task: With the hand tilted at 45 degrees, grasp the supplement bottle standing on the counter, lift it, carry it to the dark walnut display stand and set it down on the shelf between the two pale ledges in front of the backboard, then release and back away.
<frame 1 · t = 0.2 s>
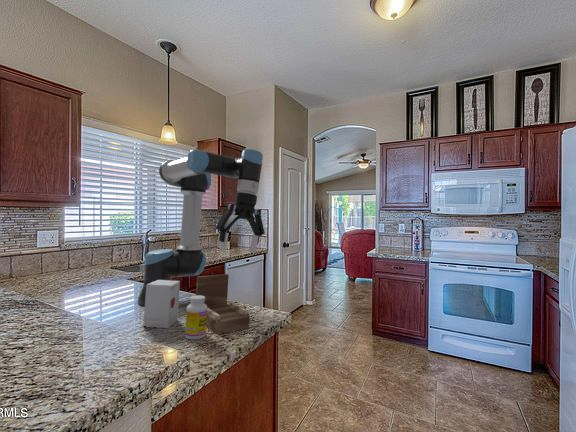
hand: (238, 252, 103), 28 cm above the counter, tool pointing down, fingers open, 13 cm apart
supplement box: (161, 324, 105), on the counter
display stand: (221, 322, 109), on the counter
supplement bottle: (195, 336, 96), on the counter
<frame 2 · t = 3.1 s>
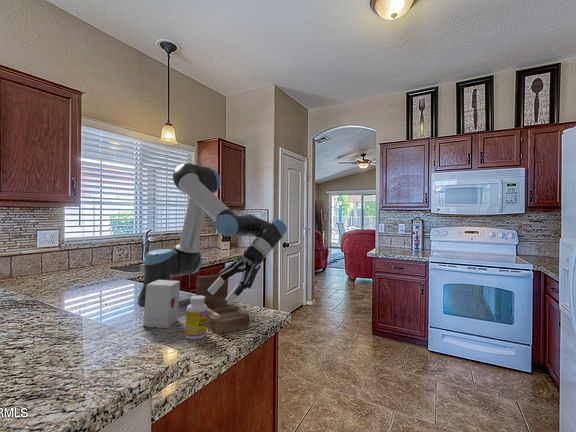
hand: (218, 297, 100), 12 cm above the counter, tool tilted 45°, fingers open, 13 cm apart
nothing on the counter moved.
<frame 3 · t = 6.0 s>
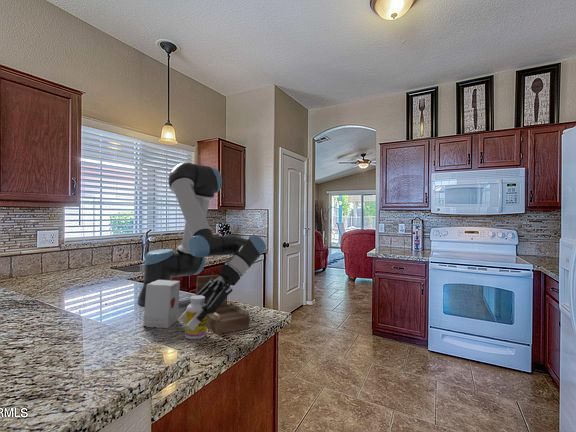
hand: (185, 324, 94), 4 cm above the counter, tool tilted 45°, fingers closed on supplement bottle, 7 cm apart
supplement bottle: (195, 336, 96), on the counter, touching gripper
everything else where it was.
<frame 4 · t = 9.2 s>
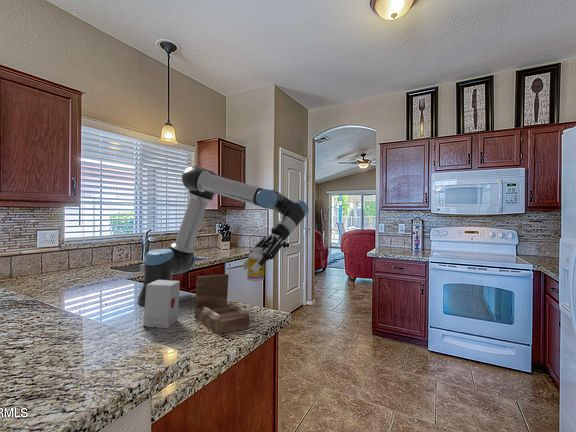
hand: (248, 269, 114), 20 cm above the counter, tool tilted 45°, fingers closed on supplement bottle, 7 cm apart
supplement bottle: (255, 280, 116), point 15 cm above the counter, touching gripper
everything else where it was.
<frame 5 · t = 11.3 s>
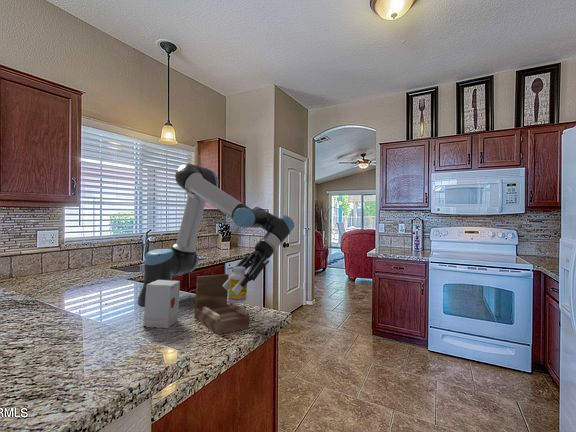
hand: (229, 290, 108), 13 cm above the counter, tool tilted 45°, fingers closed on supplement bottle, 7 cm apart
supplement bottle: (237, 301, 110), point 8 cm above the counter, touching gripper
everything else where it was.
when the fingers open (10 cm above the counter, at t = 12.8 s): supplement bottle drops 1 cm, resting on display stand.
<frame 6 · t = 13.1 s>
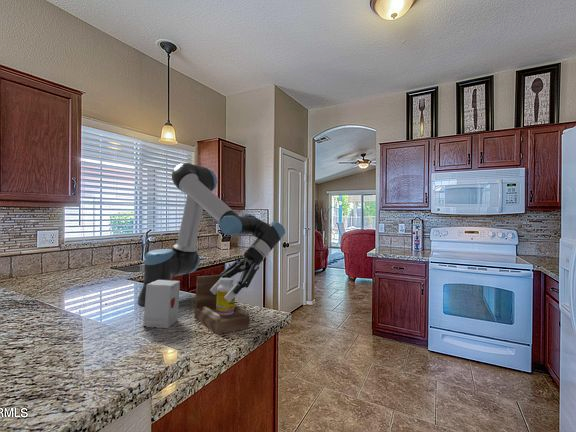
hand: (219, 296, 106), 11 cm above the counter, tool tilted 45°, fingers open, 11 cm apart
supplement bottle: (224, 313, 108), point 4 cm above the counter, touching display stand
everything else where it was.
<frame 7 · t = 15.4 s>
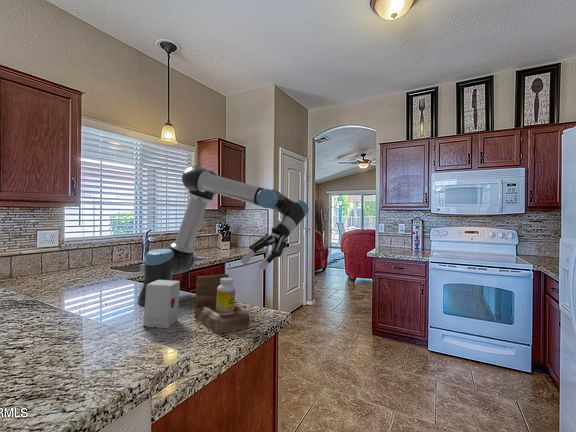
hand: (251, 265, 115), 21 cm above the counter, tool tilted 45°, fingers open, 13 cm apart
nothing on the counter moved.
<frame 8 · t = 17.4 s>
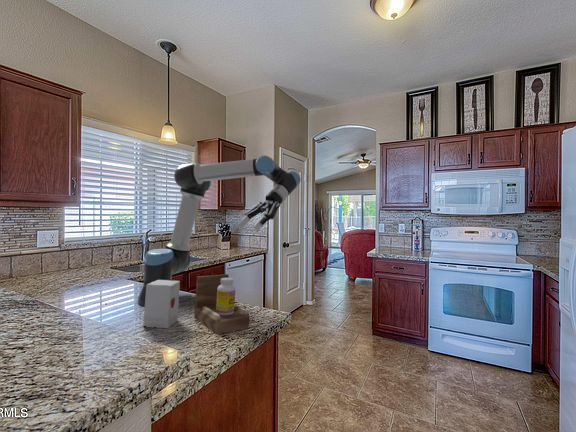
hand: (246, 228, 124), 36 cm above the counter, tool tilted 45°, fingers open, 13 cm apart
nothing on the counter moved.
at the end: supplement bottle inside the target area on the display stand (0.1 cm from its centre), point 3.8 cm above the display stand's base; supplement bottle tilted 0°; the gripper is holding nothing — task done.
